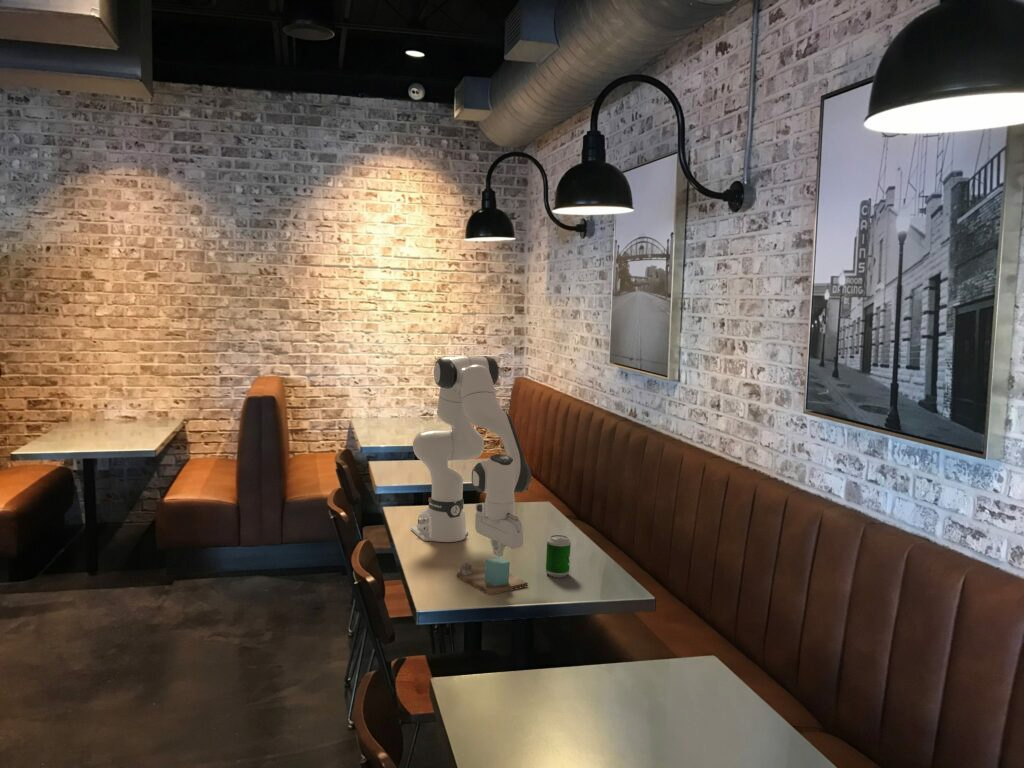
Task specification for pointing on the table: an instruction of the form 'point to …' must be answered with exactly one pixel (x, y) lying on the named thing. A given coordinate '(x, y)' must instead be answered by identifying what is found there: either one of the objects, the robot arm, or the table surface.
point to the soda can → (558, 555)
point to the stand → (478, 580)
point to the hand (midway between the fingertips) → (497, 554)
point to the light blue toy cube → (497, 571)
